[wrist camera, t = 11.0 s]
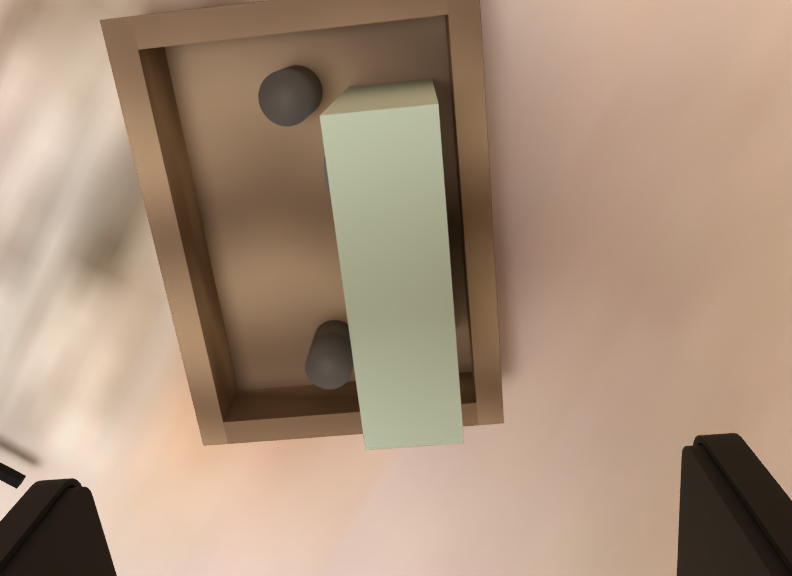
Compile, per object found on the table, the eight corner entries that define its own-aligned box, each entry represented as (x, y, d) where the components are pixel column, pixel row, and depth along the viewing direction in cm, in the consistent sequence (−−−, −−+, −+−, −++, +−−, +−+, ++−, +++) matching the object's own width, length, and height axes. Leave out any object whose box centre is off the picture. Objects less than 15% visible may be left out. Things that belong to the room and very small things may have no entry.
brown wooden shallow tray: (494, 379, 30) (503, 423, 27) (225, 400, 31) (203, 445, 28) (470, -19, 24) (478, -25, 21) (141, 19, 25) (99, 20, 22)
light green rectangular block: (451, 331, 28) (463, 443, 21) (369, 337, 28) (352, 450, 21) (432, 78, 25) (438, 103, 17) (337, 87, 25) (303, 116, 17)
